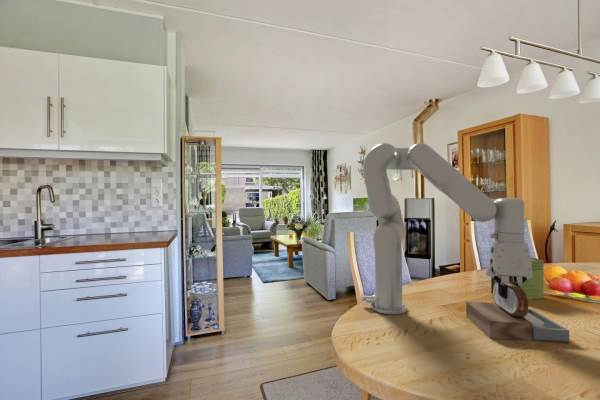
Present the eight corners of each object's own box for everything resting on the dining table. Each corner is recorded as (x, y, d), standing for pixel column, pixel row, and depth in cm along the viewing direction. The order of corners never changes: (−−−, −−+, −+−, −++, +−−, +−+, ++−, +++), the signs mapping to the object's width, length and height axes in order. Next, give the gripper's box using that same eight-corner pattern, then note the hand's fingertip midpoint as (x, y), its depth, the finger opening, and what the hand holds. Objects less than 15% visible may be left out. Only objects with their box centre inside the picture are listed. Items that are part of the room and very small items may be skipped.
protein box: (544, 298, 118) (544, 259, 118) (513, 301, 114) (512, 261, 114) (519, 290, 128) (519, 254, 128) (490, 292, 125) (490, 256, 125)
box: (533, 341, 82) (533, 328, 82) (502, 318, 98) (502, 307, 98) (569, 343, 81) (569, 330, 81) (531, 319, 97) (531, 308, 97)
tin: (527, 321, 83) (531, 292, 82) (515, 319, 83) (519, 290, 83) (498, 302, 98) (502, 278, 97) (488, 301, 98) (492, 276, 98)
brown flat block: (490, 338, 84) (490, 321, 84) (466, 316, 99) (466, 301, 99) (532, 340, 82) (532, 323, 82) (501, 318, 98) (501, 303, 98)
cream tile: (524, 318, 84) (528, 312, 84) (514, 311, 89) (518, 306, 89) (540, 328, 83) (544, 322, 83) (529, 321, 88) (533, 316, 88)
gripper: (486, 239, 88) (486, 300, 88) (546, 240, 85) (546, 303, 85) (475, 236, 95) (475, 292, 95) (530, 236, 93) (530, 294, 93)
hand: (509, 296), depth 90 cm, fingers closed on tin, 2 cm apart
